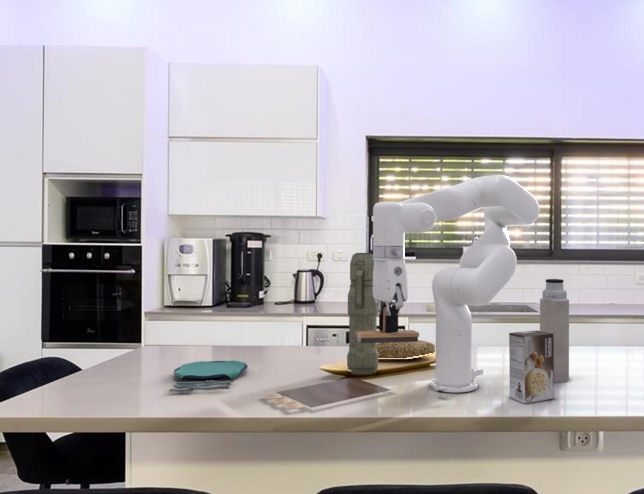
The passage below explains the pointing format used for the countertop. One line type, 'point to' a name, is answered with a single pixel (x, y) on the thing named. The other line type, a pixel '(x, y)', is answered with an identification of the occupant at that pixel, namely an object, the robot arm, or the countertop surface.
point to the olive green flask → (362, 314)
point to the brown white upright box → (531, 366)
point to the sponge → (403, 349)
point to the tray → (332, 392)
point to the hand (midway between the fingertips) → (388, 330)
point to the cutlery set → (207, 374)
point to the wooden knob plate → (387, 335)
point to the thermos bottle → (556, 325)
